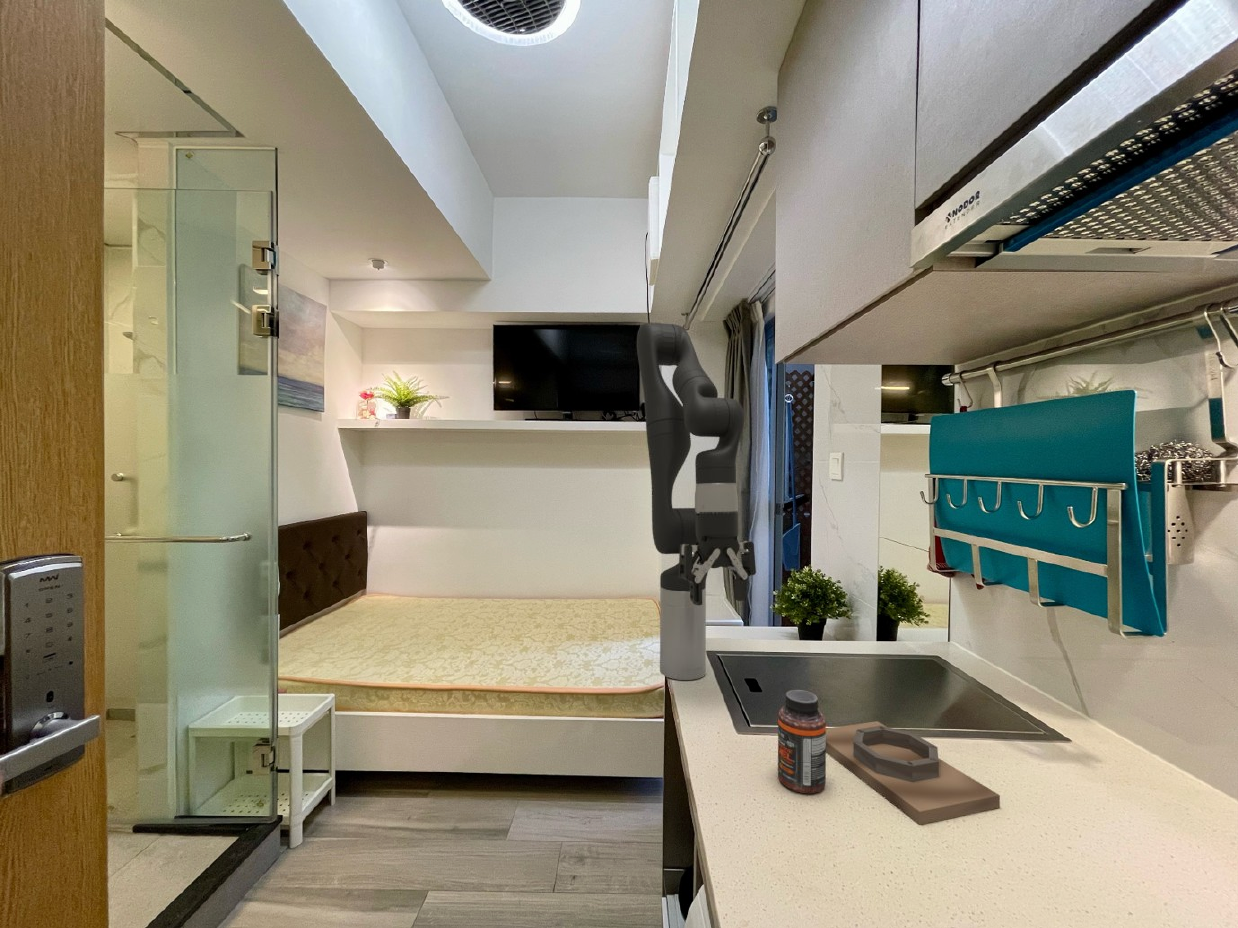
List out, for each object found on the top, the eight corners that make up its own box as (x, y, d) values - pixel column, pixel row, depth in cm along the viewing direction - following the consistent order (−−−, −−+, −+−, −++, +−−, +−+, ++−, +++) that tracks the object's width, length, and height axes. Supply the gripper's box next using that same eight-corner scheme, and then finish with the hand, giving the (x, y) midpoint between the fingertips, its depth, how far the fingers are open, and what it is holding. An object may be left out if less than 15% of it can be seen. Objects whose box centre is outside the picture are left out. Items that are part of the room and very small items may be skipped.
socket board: (811, 740, 80) (811, 717, 80) (877, 730, 84) (877, 708, 84) (919, 824, 61) (919, 793, 61) (999, 807, 64) (999, 778, 64)
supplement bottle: (768, 774, 71) (768, 689, 71) (804, 766, 73) (804, 683, 74) (798, 800, 66) (798, 707, 66) (836, 790, 68) (836, 700, 68)
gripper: (738, 508, 100) (740, 596, 99) (670, 510, 95) (672, 602, 94) (762, 509, 93) (765, 602, 92) (691, 510, 88) (693, 610, 87)
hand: (718, 602), depth 93 cm, fingers open, 8 cm apart
